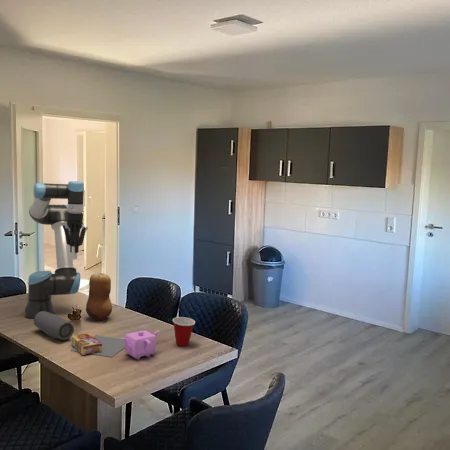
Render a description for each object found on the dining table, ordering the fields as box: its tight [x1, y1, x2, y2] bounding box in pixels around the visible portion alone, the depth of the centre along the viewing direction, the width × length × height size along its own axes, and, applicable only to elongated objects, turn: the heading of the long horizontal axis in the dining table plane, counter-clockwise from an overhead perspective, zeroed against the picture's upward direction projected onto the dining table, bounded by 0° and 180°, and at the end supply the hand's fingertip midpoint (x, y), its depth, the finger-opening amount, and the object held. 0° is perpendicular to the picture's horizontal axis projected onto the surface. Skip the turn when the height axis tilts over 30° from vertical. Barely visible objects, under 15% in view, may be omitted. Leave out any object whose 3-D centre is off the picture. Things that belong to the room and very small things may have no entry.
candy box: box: [71, 332, 102, 356], centre depth 223 cm, size 9×4×15 cm
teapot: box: [119, 330, 160, 360], centre depth 219 cm, size 15×13×11 cm
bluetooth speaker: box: [33, 311, 75, 341], centre depth 237 cm, size 23×9×10 cm, turn 48°
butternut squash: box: [85, 272, 113, 322], centre depth 265 cm, size 14×13×25 cm
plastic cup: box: [172, 316, 196, 348], centre depth 235 cm, size 11×11×12 cm
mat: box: [70, 334, 125, 358], centre depth 228 cm, size 20×22×1 cm
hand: (74, 259), depth 251 cm, fingers closed
